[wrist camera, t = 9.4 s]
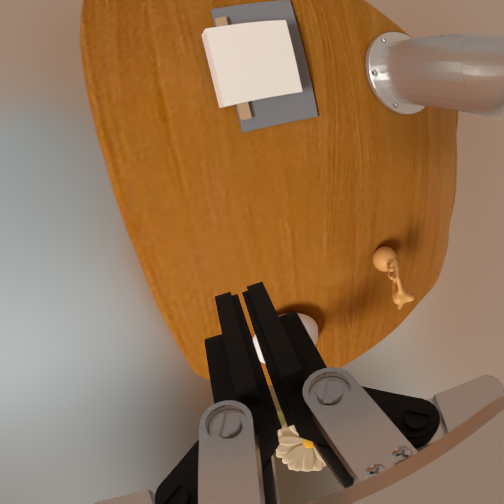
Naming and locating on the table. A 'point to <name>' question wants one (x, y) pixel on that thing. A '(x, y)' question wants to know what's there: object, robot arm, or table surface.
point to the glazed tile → (251, 61)
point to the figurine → (385, 262)
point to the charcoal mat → (303, 102)
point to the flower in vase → (291, 445)
